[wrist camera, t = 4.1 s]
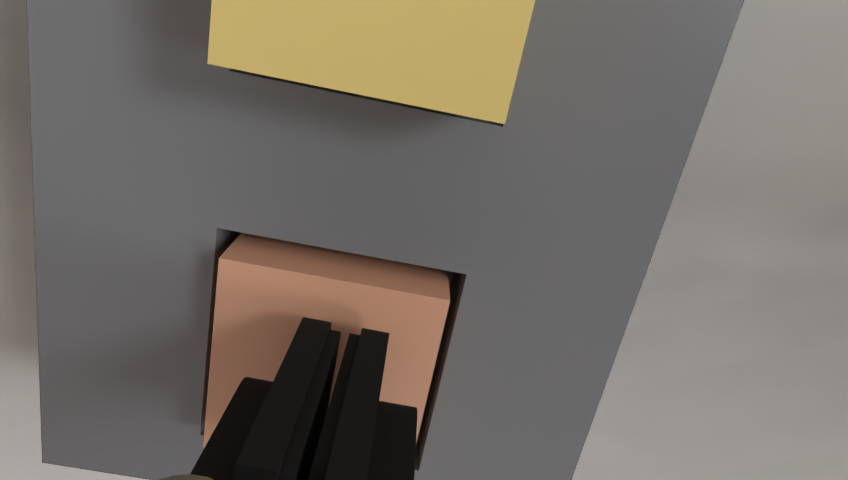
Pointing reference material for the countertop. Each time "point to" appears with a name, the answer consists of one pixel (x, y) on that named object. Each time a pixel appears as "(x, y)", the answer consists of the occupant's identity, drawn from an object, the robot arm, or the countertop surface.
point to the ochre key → (381, 48)
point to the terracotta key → (321, 315)
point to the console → (351, 219)
